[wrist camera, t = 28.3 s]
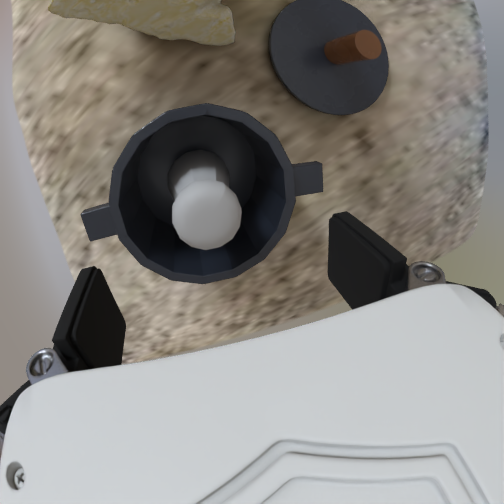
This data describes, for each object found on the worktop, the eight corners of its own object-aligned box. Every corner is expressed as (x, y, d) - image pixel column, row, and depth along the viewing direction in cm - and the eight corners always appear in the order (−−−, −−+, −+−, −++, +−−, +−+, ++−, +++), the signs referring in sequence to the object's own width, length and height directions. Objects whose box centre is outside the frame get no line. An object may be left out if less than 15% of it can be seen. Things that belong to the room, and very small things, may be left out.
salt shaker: (233, 189, 29) (269, 244, 18) (182, 211, 29) (185, 280, 18) (213, 137, 26) (237, 157, 15) (159, 161, 26) (141, 199, 15)
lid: (258, -5, 20) (280, -33, 13) (374, 9, 22) (412, -3, 15) (275, 118, 27) (303, 121, 21) (386, 114, 29) (427, 121, 23)
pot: (94, 133, 23) (57, 145, 15) (279, 96, 26) (321, 93, 18) (127, 252, 30) (112, 303, 22) (290, 216, 32) (327, 255, 24)
